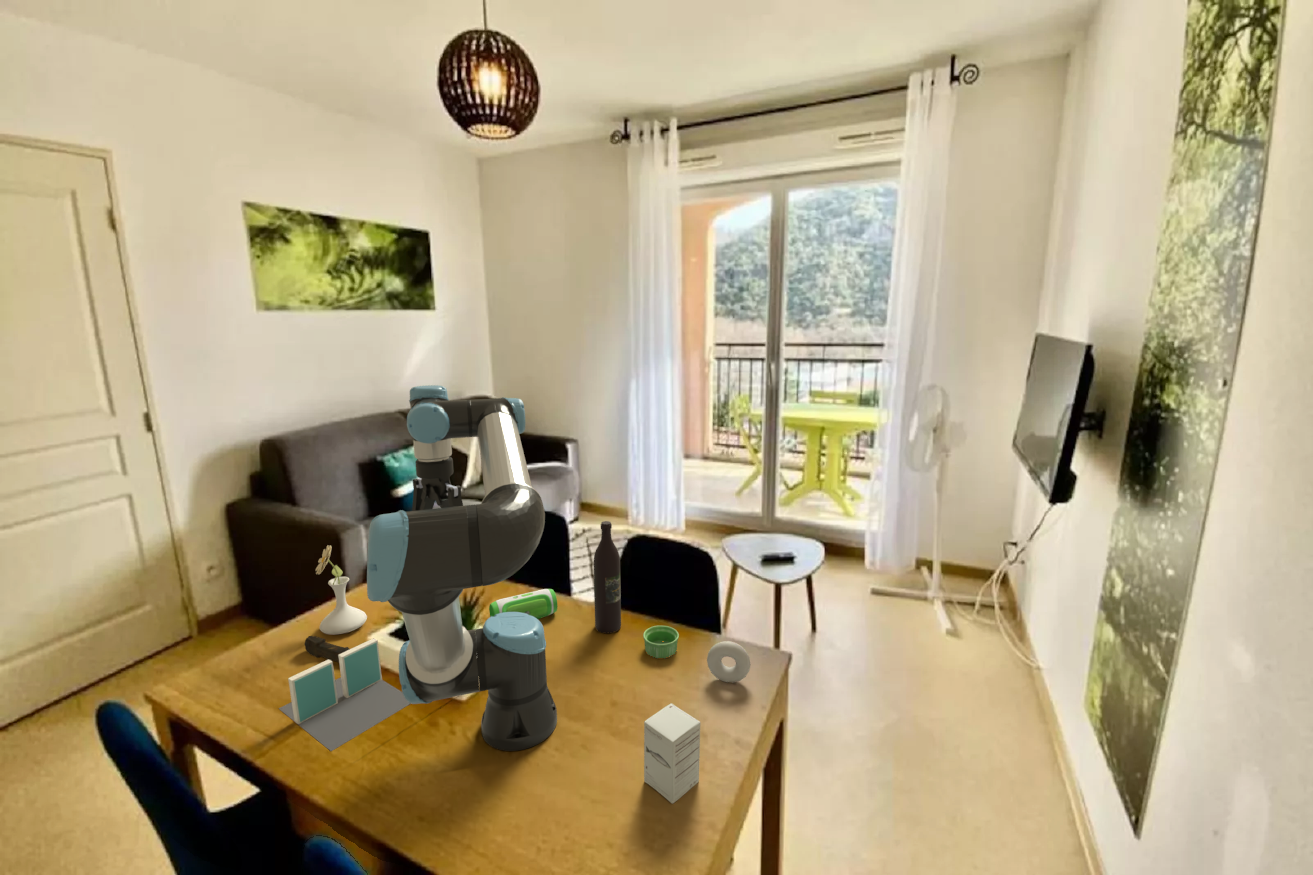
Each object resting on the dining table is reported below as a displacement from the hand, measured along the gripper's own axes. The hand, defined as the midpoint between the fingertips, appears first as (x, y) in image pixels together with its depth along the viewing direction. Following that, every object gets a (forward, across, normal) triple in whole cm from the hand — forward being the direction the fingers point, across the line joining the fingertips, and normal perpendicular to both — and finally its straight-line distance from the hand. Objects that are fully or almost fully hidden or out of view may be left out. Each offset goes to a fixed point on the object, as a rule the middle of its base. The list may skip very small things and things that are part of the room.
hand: (441, 555), depth 126 cm
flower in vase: (+31, +43, +3) cm, 53 cm away
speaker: (+31, +6, -28) cm, 42 cm away
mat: (+31, +10, +19) cm, 37 cm away
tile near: (+30, +13, +24) cm, 41 cm away
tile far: (+30, +13, +14) cm, 36 cm away
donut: (+31, -54, -35) cm, 71 cm away
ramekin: (+31, -34, -37) cm, 59 cm away
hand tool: (+31, +31, +12) cm, 45 cm away
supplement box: (+31, -59, -3) cm, 67 cm away
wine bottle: (+31, -16, -38) cm, 51 cm away
